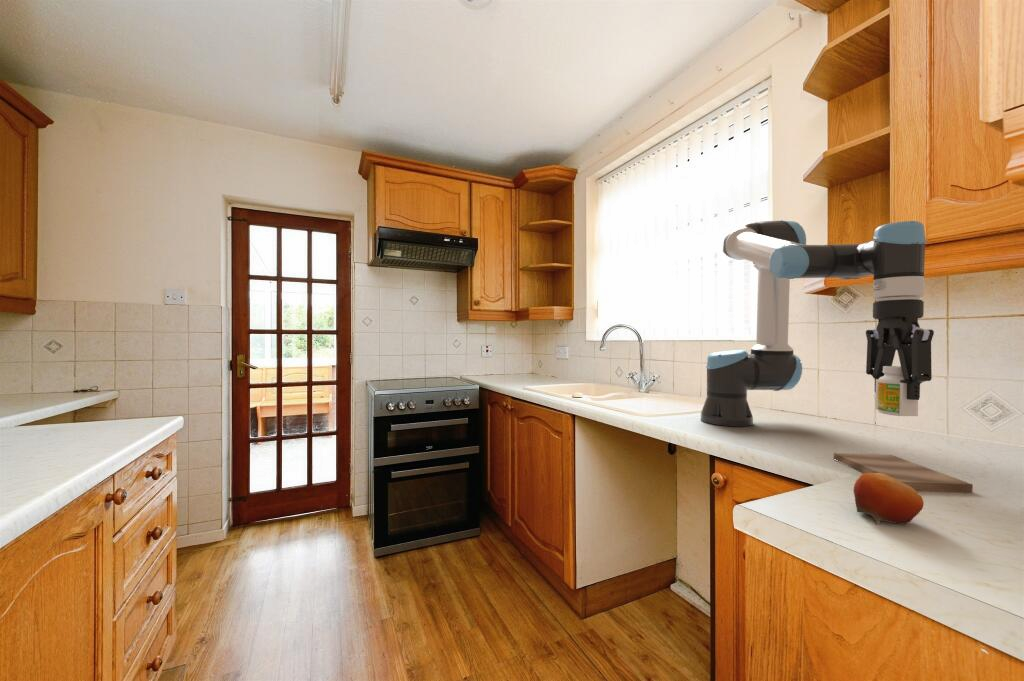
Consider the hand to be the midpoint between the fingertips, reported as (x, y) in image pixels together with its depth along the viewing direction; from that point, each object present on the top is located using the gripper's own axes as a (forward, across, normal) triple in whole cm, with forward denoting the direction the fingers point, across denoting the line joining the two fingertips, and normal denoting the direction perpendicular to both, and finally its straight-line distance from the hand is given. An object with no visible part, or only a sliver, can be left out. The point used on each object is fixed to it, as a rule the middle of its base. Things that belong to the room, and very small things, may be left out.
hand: (895, 412), depth 83 cm
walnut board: (+13, 0, 0) cm, 13 cm away
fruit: (+13, +22, -18) cm, 31 cm away
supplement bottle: (+1, 0, 0) cm, 1 cm away
